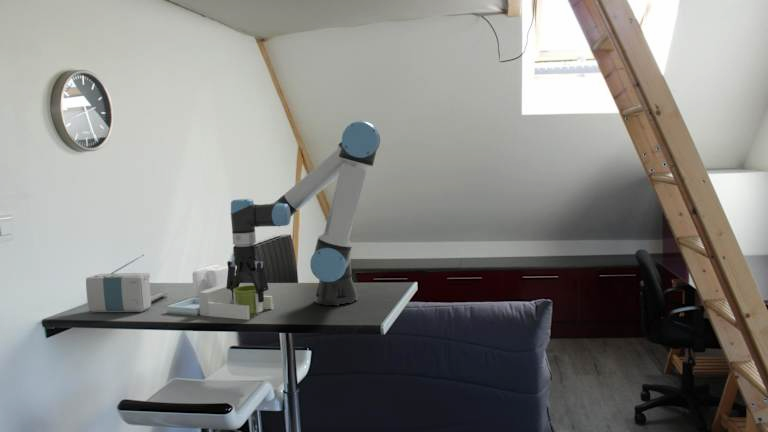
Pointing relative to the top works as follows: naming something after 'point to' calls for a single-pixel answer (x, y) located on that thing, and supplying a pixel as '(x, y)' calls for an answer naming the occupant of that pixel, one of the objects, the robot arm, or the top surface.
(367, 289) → the top surface
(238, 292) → the plant pot
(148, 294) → the stereo radio cassette player
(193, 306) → the tray
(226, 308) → the bay
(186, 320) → the top surface
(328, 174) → the robot arm
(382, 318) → the top surface
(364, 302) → the top surface
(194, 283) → the cable organizer
